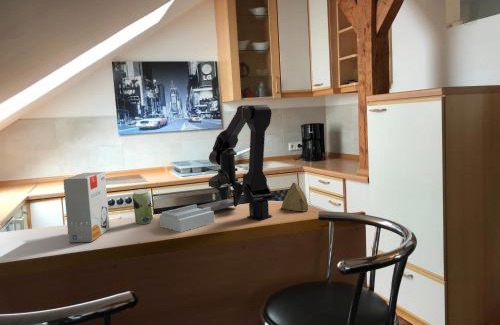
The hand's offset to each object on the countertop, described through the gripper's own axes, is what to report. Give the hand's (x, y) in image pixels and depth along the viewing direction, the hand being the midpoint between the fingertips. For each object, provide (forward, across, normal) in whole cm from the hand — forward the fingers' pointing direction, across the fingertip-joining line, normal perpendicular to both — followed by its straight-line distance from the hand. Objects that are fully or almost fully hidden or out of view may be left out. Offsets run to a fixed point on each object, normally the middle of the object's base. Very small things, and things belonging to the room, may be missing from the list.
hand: (230, 205), depth 164 cm
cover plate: (-1, 0, -6) cm, 6 cm away
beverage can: (+1, -9, -33) cm, 34 cm away
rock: (+1, +23, +12) cm, 26 cm away
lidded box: (+1, +6, -25) cm, 26 cm away
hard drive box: (+1, -10, -52) cm, 53 cm away
